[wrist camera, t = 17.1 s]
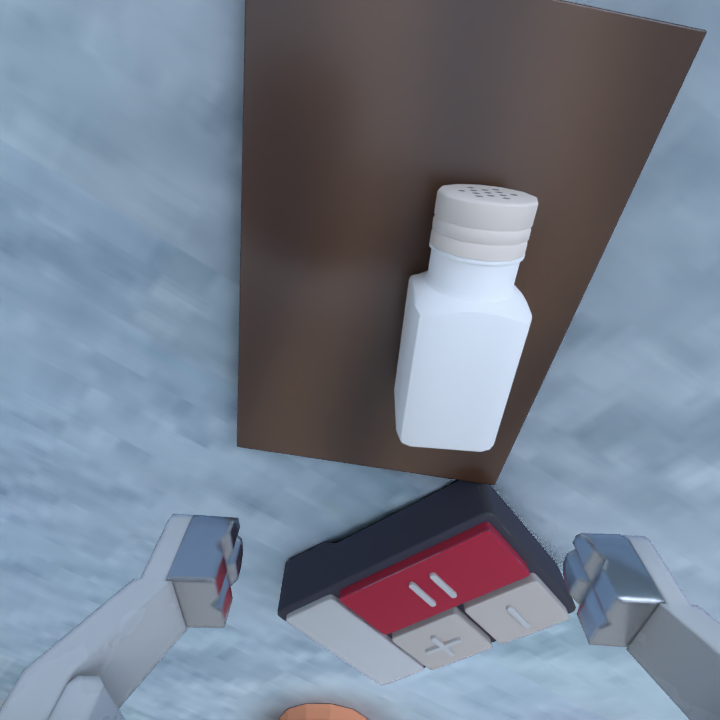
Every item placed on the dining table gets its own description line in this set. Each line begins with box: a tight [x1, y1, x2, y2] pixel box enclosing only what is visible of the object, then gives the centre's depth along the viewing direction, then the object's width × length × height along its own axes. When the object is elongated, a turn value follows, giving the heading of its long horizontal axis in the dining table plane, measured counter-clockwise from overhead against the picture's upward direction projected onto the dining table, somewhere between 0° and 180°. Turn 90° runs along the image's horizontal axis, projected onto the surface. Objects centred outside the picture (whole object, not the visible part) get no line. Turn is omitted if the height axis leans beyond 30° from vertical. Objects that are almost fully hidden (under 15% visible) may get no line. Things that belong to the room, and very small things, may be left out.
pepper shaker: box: [394, 184, 538, 452], centre depth 16 cm, size 4×4×10 cm
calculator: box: [278, 480, 576, 685], centre depth 28 cm, size 11×4×15 cm
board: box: [237, 0, 707, 485], centre depth 18 cm, size 14×20×1 cm
